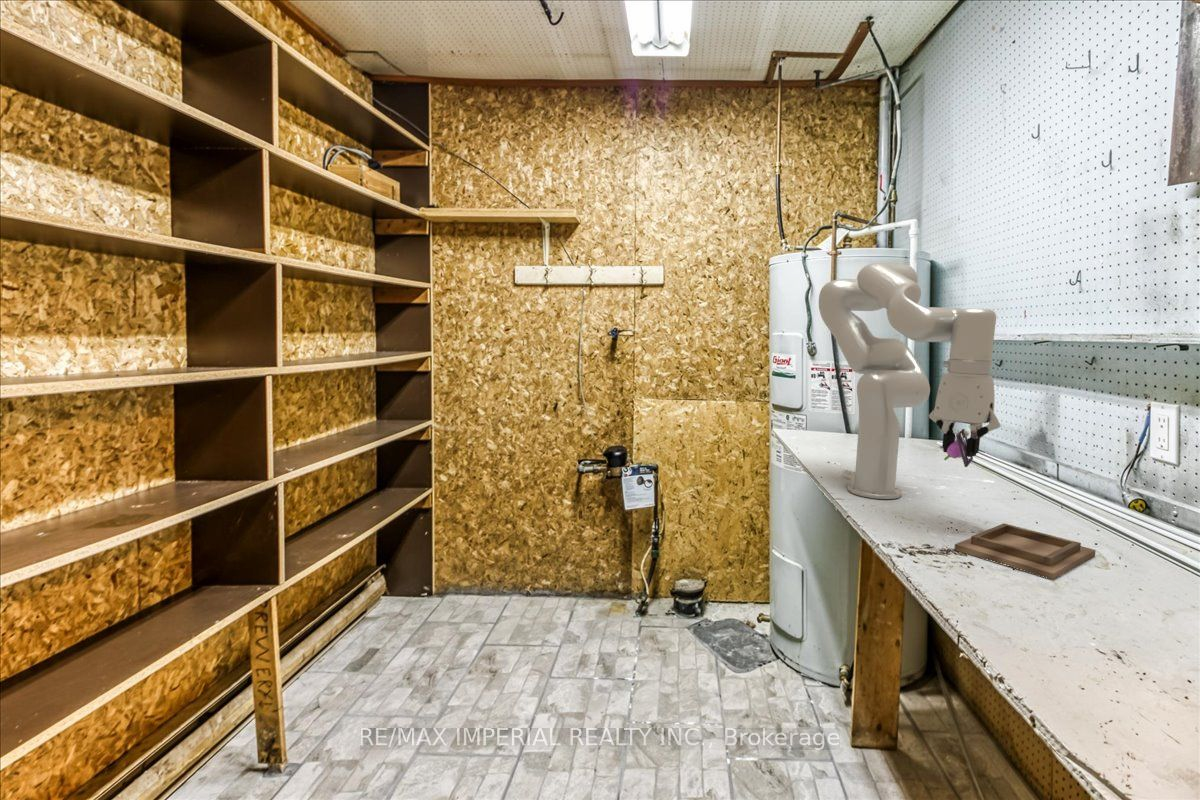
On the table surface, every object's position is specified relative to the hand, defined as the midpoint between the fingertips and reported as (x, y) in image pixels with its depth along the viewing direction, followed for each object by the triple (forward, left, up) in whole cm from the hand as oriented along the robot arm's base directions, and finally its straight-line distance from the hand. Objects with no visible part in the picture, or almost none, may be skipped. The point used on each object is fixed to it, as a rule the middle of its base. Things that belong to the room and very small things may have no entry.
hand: (959, 453), depth 128 cm
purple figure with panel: (0, -1, -2) cm, 2 cm away
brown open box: (+15, -5, -16) cm, 23 cm away
